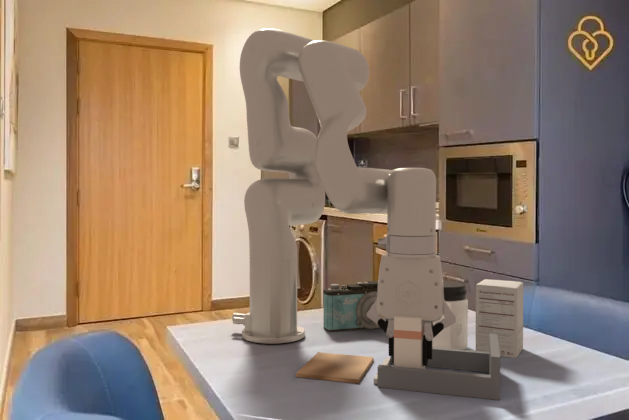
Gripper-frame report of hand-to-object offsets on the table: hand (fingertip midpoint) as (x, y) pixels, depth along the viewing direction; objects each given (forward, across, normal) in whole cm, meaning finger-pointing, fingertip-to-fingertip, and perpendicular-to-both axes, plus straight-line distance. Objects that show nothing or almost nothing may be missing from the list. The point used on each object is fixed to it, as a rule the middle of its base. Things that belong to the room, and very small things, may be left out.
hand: (410, 361), depth 85 cm
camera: (+3, -12, +26) cm, 29 cm away
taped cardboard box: (+2, 0, 0) cm, 2 cm away
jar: (+3, +4, +19) cm, 20 cm away
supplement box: (+3, +14, +19) cm, 24 cm away
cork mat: (+2, -12, 0) cm, 12 cm away
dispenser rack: (+2, +4, 0) cm, 5 cm away
